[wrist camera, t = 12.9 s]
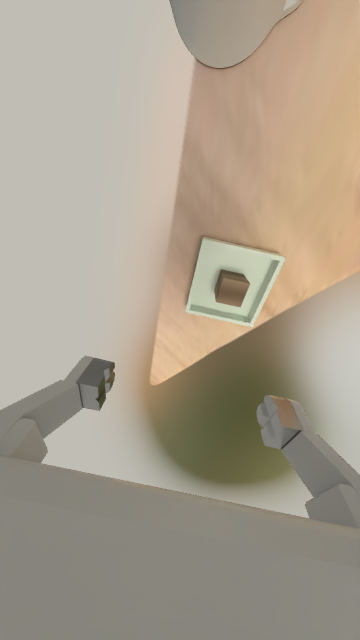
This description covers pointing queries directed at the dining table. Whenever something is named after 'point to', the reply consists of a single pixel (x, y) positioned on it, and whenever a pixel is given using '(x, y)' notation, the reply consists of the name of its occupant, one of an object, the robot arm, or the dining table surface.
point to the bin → (234, 258)
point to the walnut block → (231, 288)
